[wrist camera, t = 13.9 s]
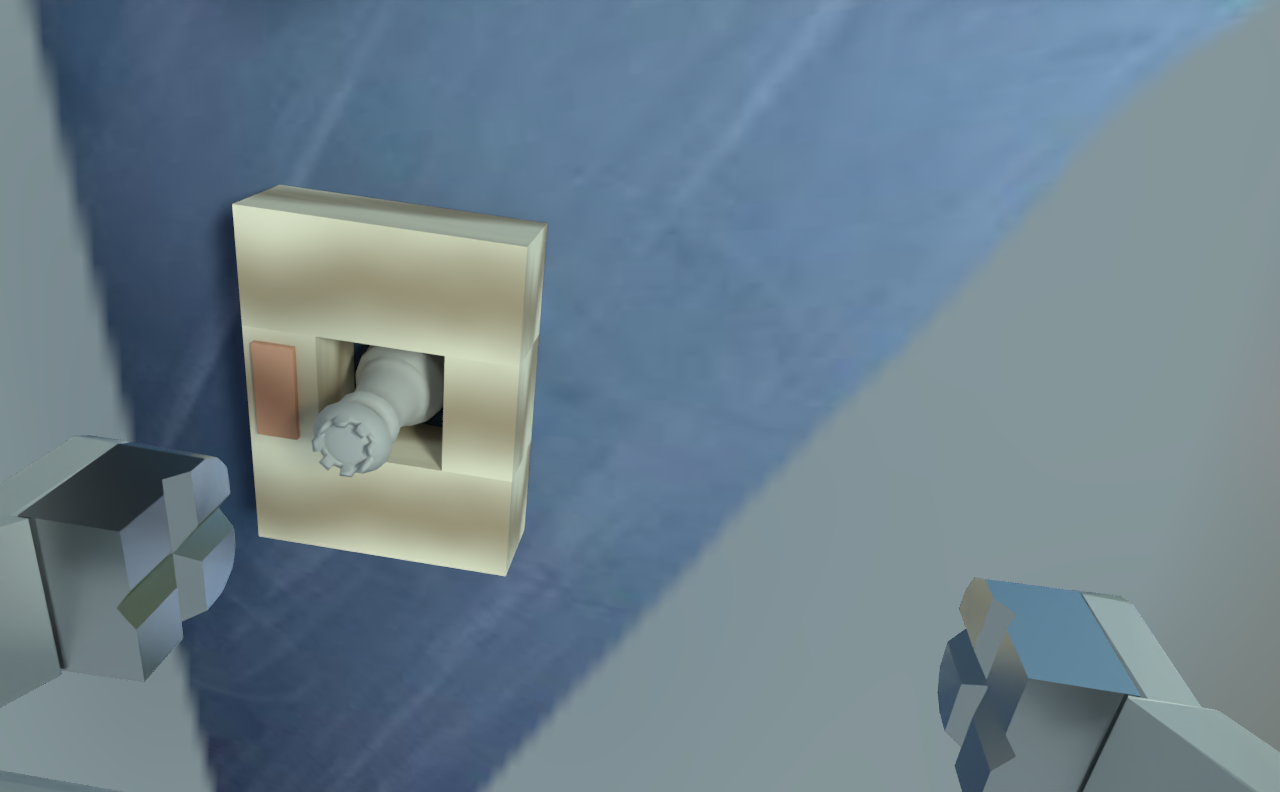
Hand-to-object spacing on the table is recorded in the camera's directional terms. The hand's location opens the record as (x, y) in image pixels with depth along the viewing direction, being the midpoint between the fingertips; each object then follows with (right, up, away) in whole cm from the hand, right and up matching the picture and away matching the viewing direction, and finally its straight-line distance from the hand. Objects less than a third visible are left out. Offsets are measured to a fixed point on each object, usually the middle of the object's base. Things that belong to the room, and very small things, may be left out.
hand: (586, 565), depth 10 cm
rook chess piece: (-10, +3, +32) cm, 34 cm away
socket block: (-10, +3, +32) cm, 34 cm away
